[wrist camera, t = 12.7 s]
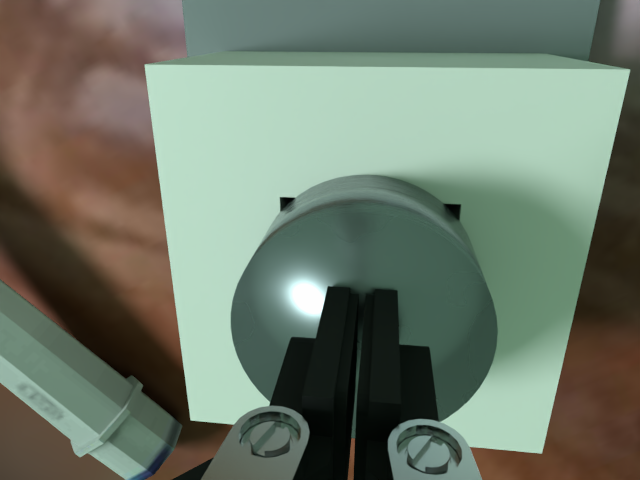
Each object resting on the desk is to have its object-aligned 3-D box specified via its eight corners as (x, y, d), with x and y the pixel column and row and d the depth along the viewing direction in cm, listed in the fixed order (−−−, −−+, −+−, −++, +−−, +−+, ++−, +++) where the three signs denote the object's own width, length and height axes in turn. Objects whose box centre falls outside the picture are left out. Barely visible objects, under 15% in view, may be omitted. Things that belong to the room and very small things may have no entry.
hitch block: (188, -33, 20) (68, -67, 12) (597, -39, 18) (742, -82, 11) (223, 353, 27) (160, 477, 19) (518, 376, 25) (571, 522, 18)
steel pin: (291, 129, 19) (221, 205, 11) (461, 133, 19) (518, 218, 11) (294, 276, 22) (238, 427, 14) (444, 285, 21) (479, 450, 13)
